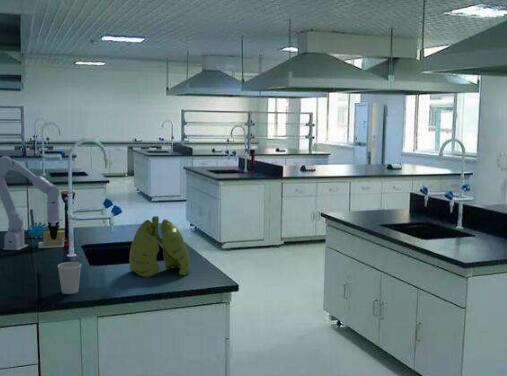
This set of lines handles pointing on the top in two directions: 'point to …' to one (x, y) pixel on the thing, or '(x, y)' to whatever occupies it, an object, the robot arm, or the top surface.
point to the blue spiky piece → (37, 230)
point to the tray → (50, 245)
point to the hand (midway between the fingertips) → (53, 237)
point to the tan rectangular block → (57, 241)
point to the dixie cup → (69, 276)
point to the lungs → (148, 248)
